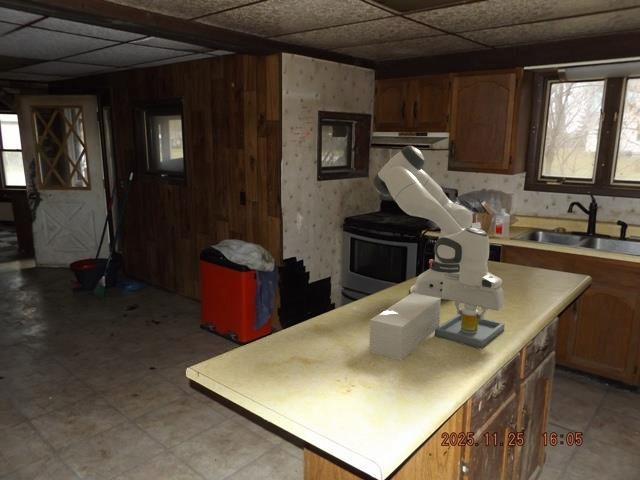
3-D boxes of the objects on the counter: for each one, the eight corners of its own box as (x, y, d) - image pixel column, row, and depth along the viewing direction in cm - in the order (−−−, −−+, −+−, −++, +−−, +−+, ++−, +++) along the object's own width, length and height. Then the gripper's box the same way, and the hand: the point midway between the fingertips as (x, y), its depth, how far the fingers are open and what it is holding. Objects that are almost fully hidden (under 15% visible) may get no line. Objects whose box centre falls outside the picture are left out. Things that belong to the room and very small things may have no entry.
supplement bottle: (478, 334, 159) (480, 306, 157) (461, 333, 160) (463, 305, 158) (476, 328, 164) (478, 301, 162) (460, 327, 165) (461, 300, 163)
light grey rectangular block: (401, 361, 142) (402, 326, 140) (369, 352, 148) (370, 319, 145) (439, 327, 168) (440, 298, 166) (410, 321, 174) (412, 292, 172)
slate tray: (481, 348, 149) (481, 341, 149) (434, 335, 160) (434, 328, 159) (504, 330, 164) (504, 323, 164) (460, 319, 175) (460, 313, 174)
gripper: (439, 273, 162) (437, 312, 165) (499, 284, 149) (496, 326, 152) (448, 269, 167) (445, 307, 170) (507, 280, 154) (503, 321, 157)
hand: (470, 316), depth 161 cm, fingers open, 6 cm apart
